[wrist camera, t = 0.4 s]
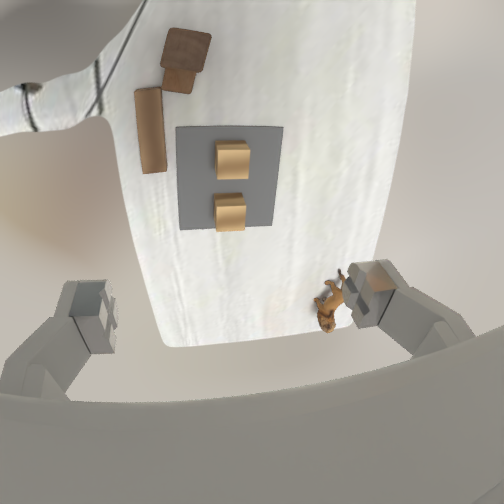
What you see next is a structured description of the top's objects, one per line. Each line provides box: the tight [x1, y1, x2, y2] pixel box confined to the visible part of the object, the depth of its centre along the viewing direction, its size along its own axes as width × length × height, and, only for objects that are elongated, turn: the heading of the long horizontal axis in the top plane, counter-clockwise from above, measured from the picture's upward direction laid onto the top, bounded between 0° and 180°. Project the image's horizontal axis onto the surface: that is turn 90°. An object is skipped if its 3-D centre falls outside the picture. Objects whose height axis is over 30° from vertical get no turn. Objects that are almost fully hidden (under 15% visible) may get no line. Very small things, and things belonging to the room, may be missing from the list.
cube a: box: [215, 140, 250, 180], centre depth 50 cm, size 5×5×5 cm
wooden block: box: [160, 28, 212, 94], centre depth 35 cm, size 9×4×18 cm, turn 165°
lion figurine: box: [314, 270, 346, 333], centre depth 75 cm, size 15×5×9 cm, turn 166°
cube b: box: [214, 193, 246, 232], centre depth 56 cm, size 5×5×5 cm
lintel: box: [134, 87, 167, 174], centre depth 46 cm, size 4×14×3 cm, turn 179°
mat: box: [176, 126, 283, 230], centre depth 56 cm, size 20×18×1 cm
